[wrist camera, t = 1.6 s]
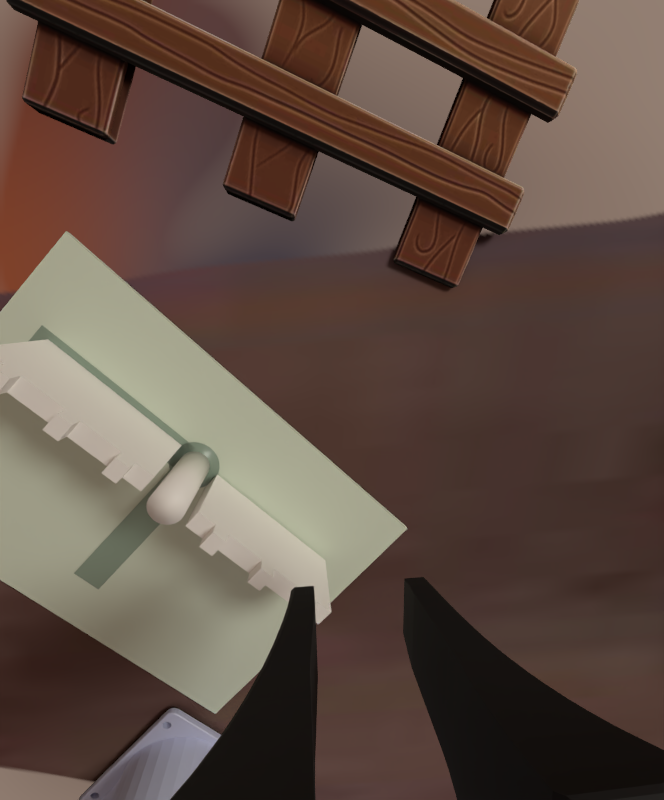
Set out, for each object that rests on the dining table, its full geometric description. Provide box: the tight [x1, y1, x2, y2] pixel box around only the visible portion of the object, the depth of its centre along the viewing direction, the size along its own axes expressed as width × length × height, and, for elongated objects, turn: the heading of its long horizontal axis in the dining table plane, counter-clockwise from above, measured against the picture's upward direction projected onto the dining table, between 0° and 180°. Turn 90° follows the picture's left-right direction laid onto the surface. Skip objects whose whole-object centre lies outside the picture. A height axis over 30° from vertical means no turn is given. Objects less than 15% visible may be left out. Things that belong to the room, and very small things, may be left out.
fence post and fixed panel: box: [0, 339, 210, 525], centre depth 18 cm, size 2×10×5 cm, turn 46°
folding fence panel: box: [186, 475, 331, 624], centre depth 19 cm, size 8×1×5 cm, turn 46°
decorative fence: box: [7, 0, 579, 288], centre depth 17 cm, size 23×2×15 cm
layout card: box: [0, 231, 407, 714], centre depth 21 cm, size 17×23×1 cm
